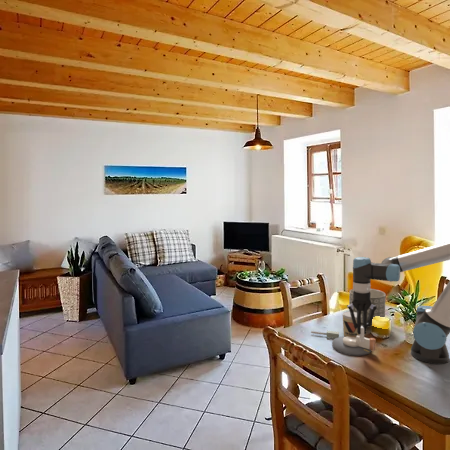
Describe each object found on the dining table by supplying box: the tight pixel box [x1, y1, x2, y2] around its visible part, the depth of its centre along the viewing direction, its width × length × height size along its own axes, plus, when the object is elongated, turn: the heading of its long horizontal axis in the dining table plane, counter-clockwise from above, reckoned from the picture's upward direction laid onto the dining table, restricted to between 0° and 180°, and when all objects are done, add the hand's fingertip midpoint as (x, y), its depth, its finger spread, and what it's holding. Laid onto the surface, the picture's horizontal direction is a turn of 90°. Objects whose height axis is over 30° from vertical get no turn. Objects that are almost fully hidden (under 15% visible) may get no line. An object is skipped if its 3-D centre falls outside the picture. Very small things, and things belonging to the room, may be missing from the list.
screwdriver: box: [310, 330, 340, 340], centre depth 186 cm, size 14×3×3 cm, turn 69°
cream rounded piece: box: [343, 335, 377, 352], centre depth 170 cm, size 15×8×5 cm, turn 46°
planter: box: [348, 288, 387, 326], centre depth 202 cm, size 19×19×18 cm
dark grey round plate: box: [331, 336, 372, 357], centre depth 173 cm, size 18×18×2 cm
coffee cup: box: [342, 311, 362, 337], centre depth 185 cm, size 9×9×12 cm
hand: (361, 340), depth 165 cm, fingers closed
